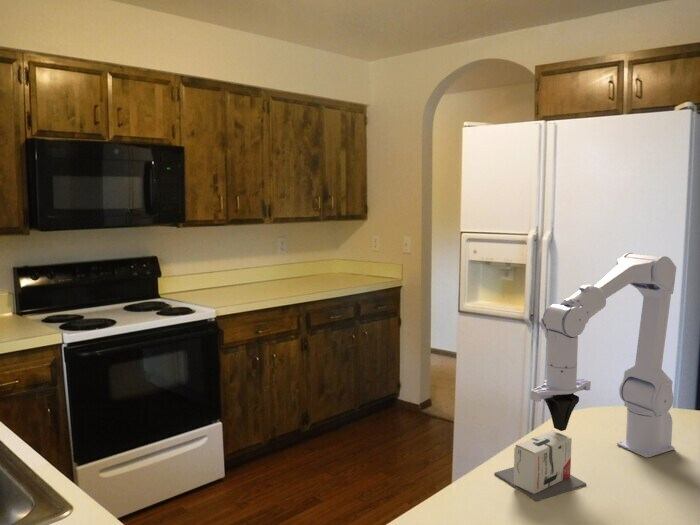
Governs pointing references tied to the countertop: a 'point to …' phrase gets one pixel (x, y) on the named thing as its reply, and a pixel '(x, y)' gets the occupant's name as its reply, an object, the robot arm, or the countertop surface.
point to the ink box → (542, 461)
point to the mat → (546, 493)
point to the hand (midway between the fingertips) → (559, 428)
